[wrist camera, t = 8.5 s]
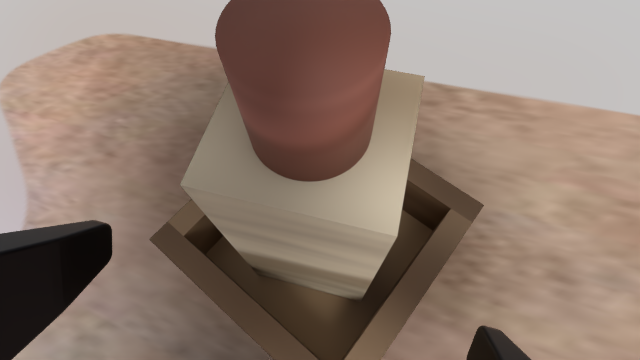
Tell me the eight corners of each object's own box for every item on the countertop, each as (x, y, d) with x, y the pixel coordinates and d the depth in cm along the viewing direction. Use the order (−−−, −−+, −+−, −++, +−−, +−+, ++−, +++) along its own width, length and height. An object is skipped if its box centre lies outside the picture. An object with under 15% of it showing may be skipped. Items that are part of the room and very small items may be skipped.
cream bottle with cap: (360, 301, 17) (434, 170, 5) (257, 274, 17) (107, 101, 6) (378, 212, 18) (462, -35, 7) (284, 191, 19) (215, -69, 7)
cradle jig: (336, 406, 16) (339, 421, 12) (183, 262, 19) (149, 239, 15) (454, 234, 19) (484, 205, 15) (308, 134, 22) (304, 90, 18)
